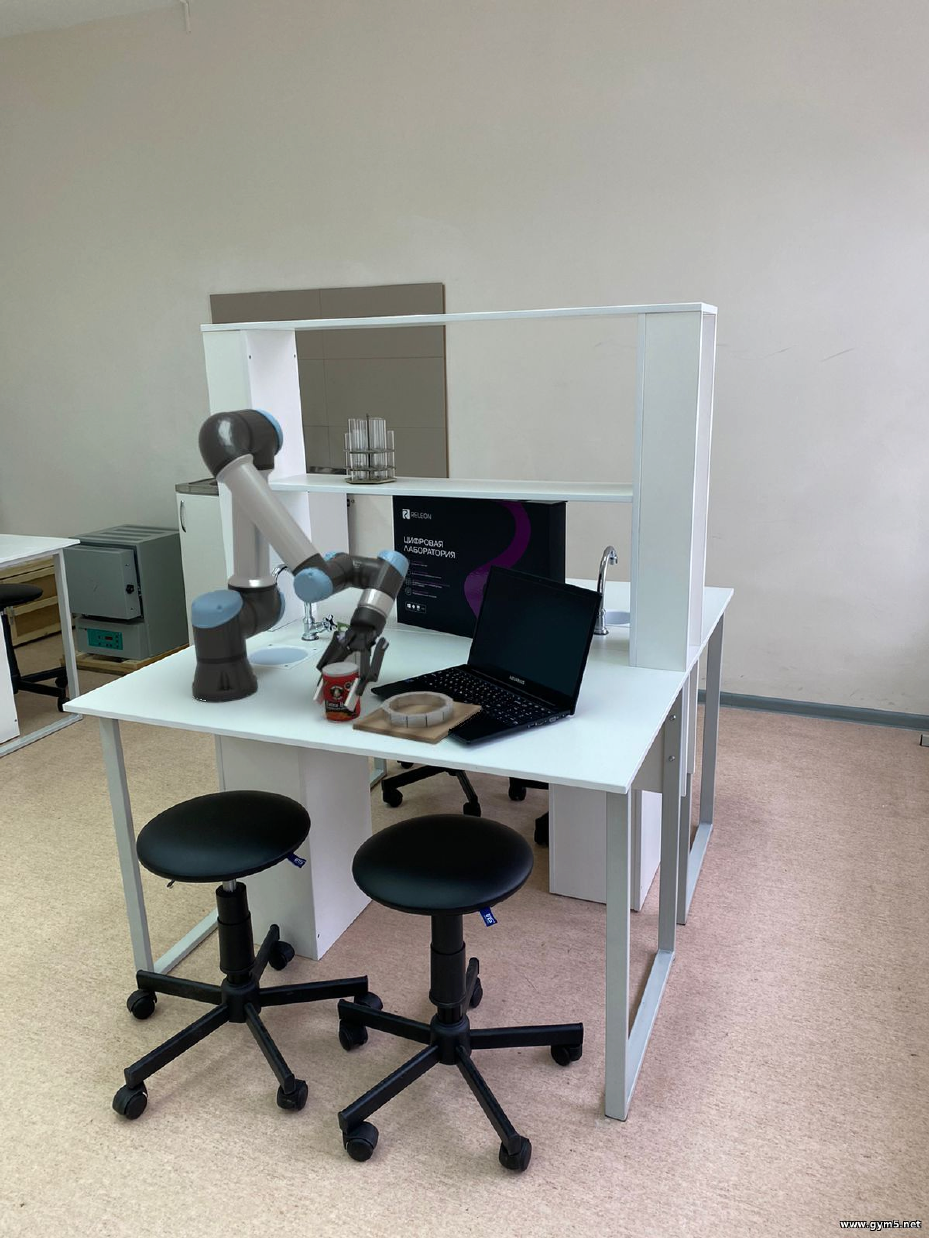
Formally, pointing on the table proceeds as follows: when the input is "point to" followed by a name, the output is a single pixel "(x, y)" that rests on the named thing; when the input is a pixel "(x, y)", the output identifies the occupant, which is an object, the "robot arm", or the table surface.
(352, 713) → the canned food
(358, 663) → the ink box
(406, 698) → the collar
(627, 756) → the table surface
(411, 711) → the board
